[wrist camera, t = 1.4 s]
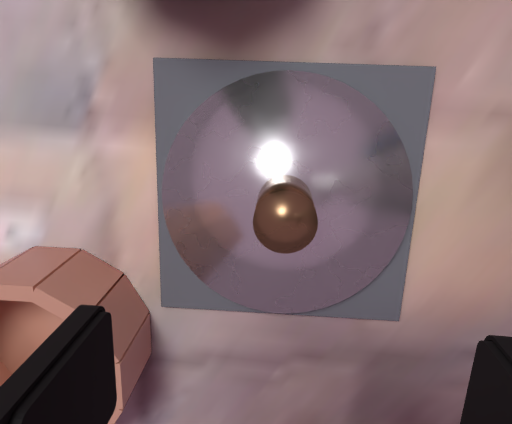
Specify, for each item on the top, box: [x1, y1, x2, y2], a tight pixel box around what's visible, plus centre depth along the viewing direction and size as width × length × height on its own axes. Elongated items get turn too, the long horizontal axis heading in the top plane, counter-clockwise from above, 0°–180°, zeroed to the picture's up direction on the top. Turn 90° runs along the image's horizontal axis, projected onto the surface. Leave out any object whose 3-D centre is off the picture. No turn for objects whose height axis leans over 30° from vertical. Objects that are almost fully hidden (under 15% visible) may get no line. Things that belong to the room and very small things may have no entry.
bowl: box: [0, 246, 151, 424], centre depth 29 cm, size 13×13×6 cm
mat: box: [153, 58, 436, 321], centre depth 28 cm, size 17×17×1 cm
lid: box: [162, 70, 413, 313], centre depth 25 cm, size 16×16×5 cm
